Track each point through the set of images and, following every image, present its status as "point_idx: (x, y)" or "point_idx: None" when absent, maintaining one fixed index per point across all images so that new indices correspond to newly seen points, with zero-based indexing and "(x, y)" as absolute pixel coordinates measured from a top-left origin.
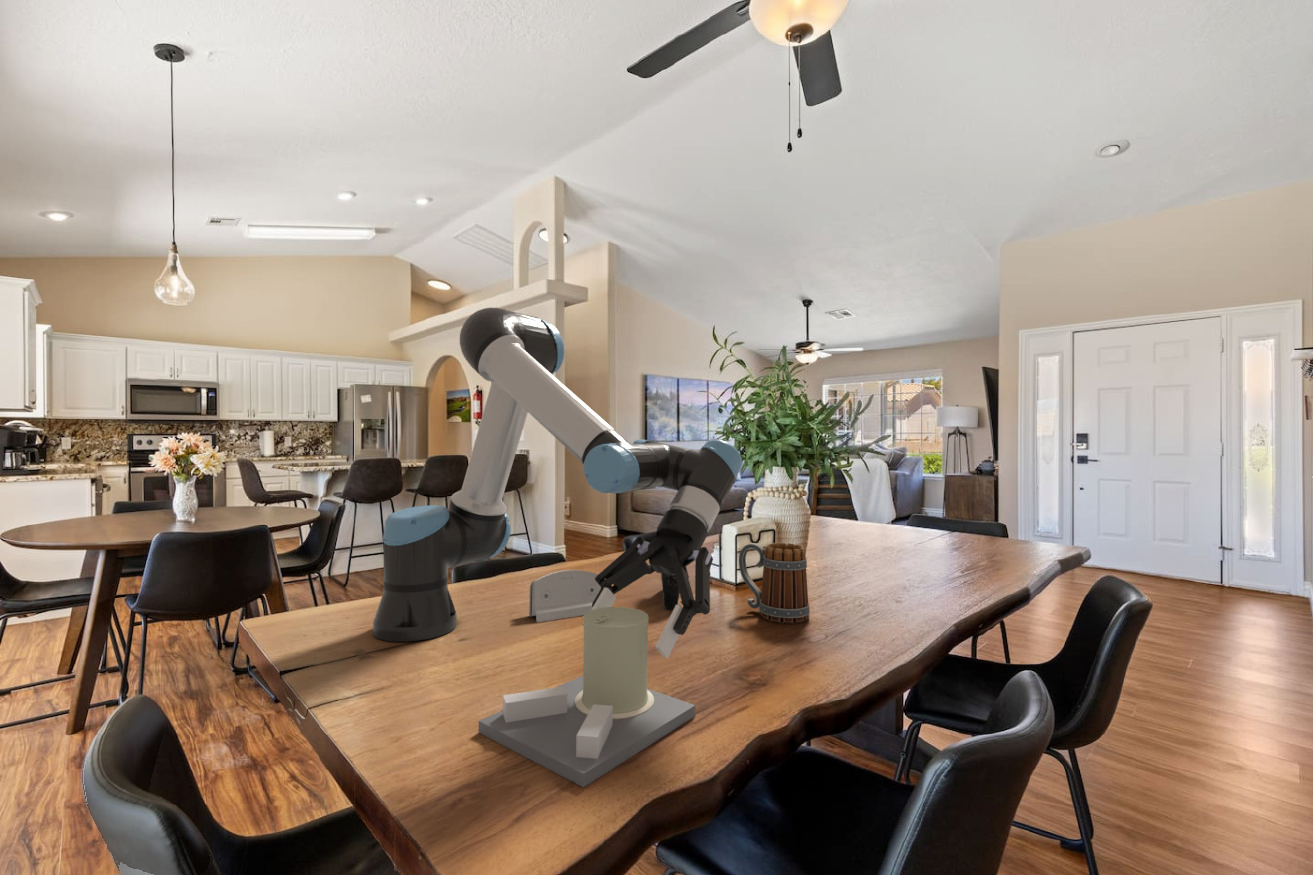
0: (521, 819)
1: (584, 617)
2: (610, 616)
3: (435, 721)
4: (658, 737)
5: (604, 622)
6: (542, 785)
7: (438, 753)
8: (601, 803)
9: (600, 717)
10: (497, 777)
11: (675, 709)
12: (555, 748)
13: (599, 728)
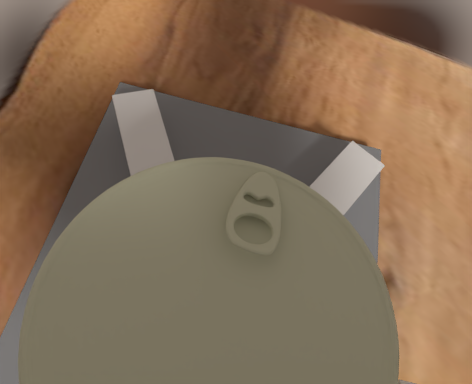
0: (165, 29)
1: (346, 225)
2: (252, 310)
3: (457, 163)
4: None
5: (227, 209)
6: (182, 84)
7: (367, 98)
8: (80, 77)
9: (141, 157)
10: (251, 80)
11: (11, 380)
12: (202, 122)
13: (123, 121)
